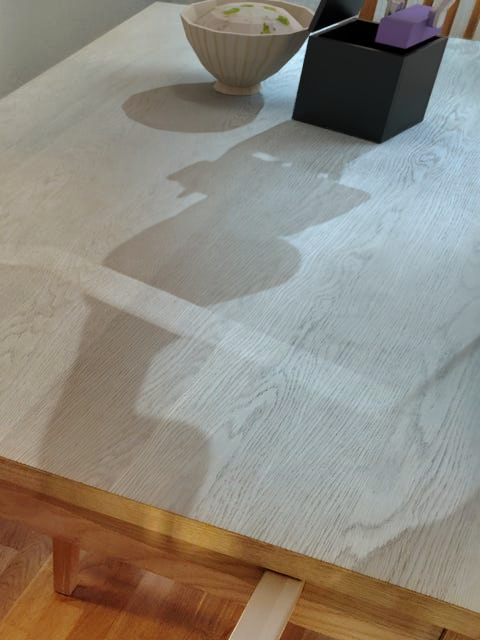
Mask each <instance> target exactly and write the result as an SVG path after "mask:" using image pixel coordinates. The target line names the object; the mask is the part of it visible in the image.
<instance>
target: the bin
mask: <svg viewBox="0 0 480 640" xmlns="http://www.w3.org/2000/svg"><path fill="white" fill-rule="evenodd" d="M379 24H380V21H379V22H378V21H374V20H369V19H364V18H361V17H360V18H359V17H351V18H349V19H347V20H344V21H342V22H339V23H337V24H334V25H332V26H329V27H327V28H324V29H322V30H319V31H317V32H314V33H312V34H310V35H309V37H308V38H307V44H306V48H305V52H304V57H303V63H302V65H301V66H302V67H301V72H300V76H299V81H298V86H297V91H296V95H295V100H294V105H293V109H292V114H291V119H292V120H295V121H298V122H302V123H305V124H308V125H309V124H310V125H313V126H316V127H319V128H323V129H327V130H331V131H334V132H337V133H342V134H344V135H348V136H351V137H356V138H358V139H359V138H360V139H363V140H366V141H370V142H373V143H377V144H382V143H384V142H386V141H388V140H390V139H392V138H393V137H396V136H397V135H399V134H401V133H403V132H405V131H407V130H408V129H410V128H412V127H414V126H416V125H418V124H420V123H421V122H423V121H424V119H425V115H426V113H427V109H428V106H429V102H430V99H431V96H432V94H433V90H434V87H435V84H436V81H437V77H438V74H439V71H440V68H441V64H442V61H443V57H444V55H445V51H446V48H447V46H448V41H449V36H445V35H440V34H437V35H435V36H433V37H431V38H428V39H426V40H424V41H422V42H420V43H417V44H415V45H413V46H411V47H409V48H406V49H404V48H399V47H395V46H390V45H386V44H382V43H377V42H375V39H376V35H377V32H378V28H379Z"/></svg>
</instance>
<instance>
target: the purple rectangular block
mask: <svg viewBox="0 0 480 640" xmlns="http://www.w3.org/2000/svg"><path fill="white" fill-rule="evenodd" d="M435 7H436V6H429V5H425V4H420V3H415V4H413V5H410V6H408V7H406V8H402V10H401V11H398V12H396V13H393V14H391V15H388V16H386V17H384V16H383V17H382V18H381V17H380V21H379V23H380V24H379V28H378V32H377V35H376V39H375V42H377V43H382V44H386V45H390V46H395V47H399V48H404V49H406V48H409V47H411V46H413V45H415V44H417V43H420V42H422V41H424V40H426V39H428V38H431V37H433V36H435V35H440V34H441V33H442V30H443V27H444V23H445V20H446V17H447V14H448V12H447V13H446V16H445V19H444V22H443V24H442V26H441V27H439V28H432V27H427V26H426V22H427V19H428V13H429V10H430V9H434V8H435Z"/></svg>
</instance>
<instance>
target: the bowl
mask: <svg viewBox="0 0 480 640" xmlns="http://www.w3.org/2000/svg"><path fill="white" fill-rule="evenodd" d="M314 14H315V11H313V10H312V9H311V8H309V7H307V6H303V5H300V4H297V3H293V2H289V1H286V0H203V1H198V2H194V3H190V4H188V5H186V7H185V8H184V9H182V10H181V11H180V12H179V16H180V20H181V24H182V27H183V31H184V34H185V38H186V40H187V42H188V43H189V45H190V47H191V48H192V51H193V52H194V54H195V55H196V57H197V60H199V62H200V64H201V65H202V66H203V68H204V69H205V70H206V71H207V72H208V73H209V74H210V75H212V77H214V78H215V79H216V80H217V81H216V82H215V83H214V85H213V86H212V87H213V89H214V90H215V91H217V92H219V93H221V94H225V95H229V96H230V95H231V96H237V97H238V96H252V95H255V94H258V93H260V92H261V91H262V90H263V86H262V84H261V83H262V82H264V81H266V80H268V79H269V78H270V77H272V76H275V74H277V73H279V72H280V71H281V70H282V69H283V68H284V67H285V66H286V65H287V64H288V63H289V62H290V60H292V59H293V57H295V55H297V54H298V53H299V51H300V50H301V49H302V47H303V46H304V44H305V43H306V41H308V37H309V36H310V35H311V34H312V33H311V32H310V31H308V27H309V25H310V23H311V21H312V19H313V16H314Z"/></svg>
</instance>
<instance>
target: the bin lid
mask: <svg viewBox="0 0 480 640" xmlns="http://www.w3.org/2000/svg"><path fill="white" fill-rule="evenodd" d="M365 2H366V0H320V1H319V3H318V6H317V7H316V10H315V11H314V13H315V14H314V16H313V19H312V21H311V23H310V25H309V27H308V31H310V32H311V33H310V34H315V33H317V32H320V31H322V30H325V29H327V28H330V27H332V26H335V25H337V24H340V23H342V22H345V21H347V20H350V19H352V18H355V17H356V16H358V15H359V14H360V12H361V9H362V8H363V6H364V4H365Z"/></svg>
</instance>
